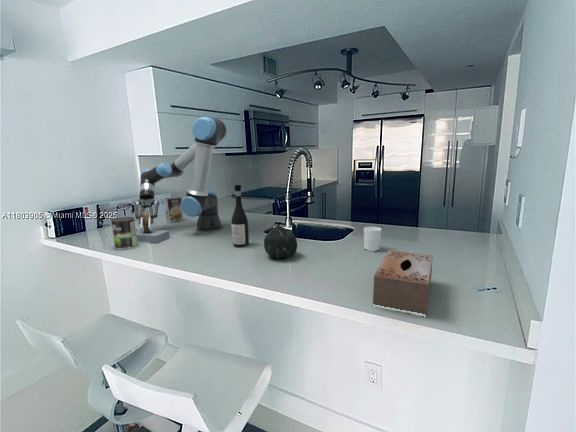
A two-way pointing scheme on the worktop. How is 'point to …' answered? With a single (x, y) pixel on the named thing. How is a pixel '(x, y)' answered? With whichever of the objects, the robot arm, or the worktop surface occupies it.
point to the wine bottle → (239, 222)
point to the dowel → (146, 222)
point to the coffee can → (124, 233)
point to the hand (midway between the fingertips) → (145, 228)
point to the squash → (280, 243)
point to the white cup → (372, 238)
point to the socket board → (152, 236)
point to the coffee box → (173, 210)
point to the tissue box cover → (403, 281)
